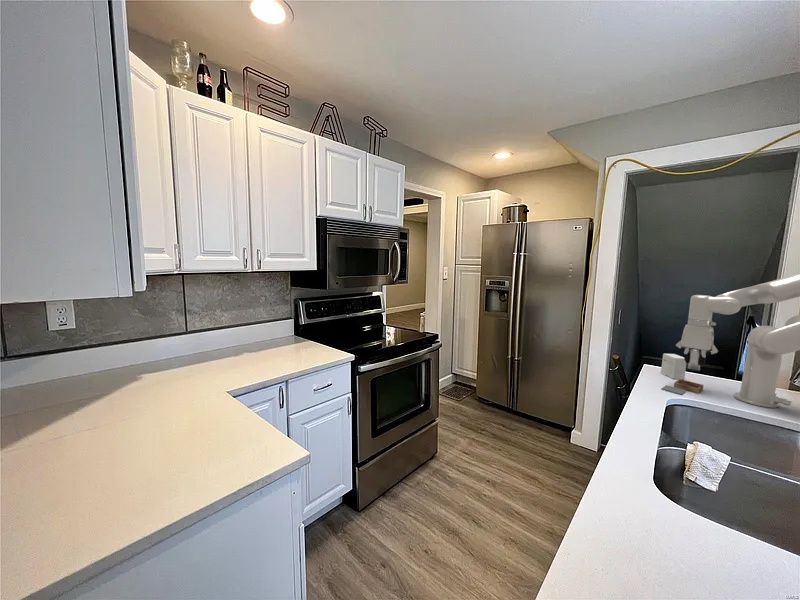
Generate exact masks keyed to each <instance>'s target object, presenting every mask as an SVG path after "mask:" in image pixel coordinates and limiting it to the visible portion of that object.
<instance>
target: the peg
mask: <svg viewBox="0 0 800 600" xmlns="http://www.w3.org/2000/svg"><path fill="white" fill-rule="evenodd" d="M701 355H702V352H701V350H699V349H693V348H690V351H689V361H688V363H687V369H688V370H693V371H701V366H700V365H699V363H700V357H701Z"/></svg>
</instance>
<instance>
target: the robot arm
mask: <svg viewBox="0 0 800 600" xmlns="http://www.w3.org/2000/svg"><path fill="white" fill-rule="evenodd" d="M799 297H800V273H795V274H792V275H789V276H784V277H782V278H778V279H774V280H771V281H767V282H764V283H759V284H756V285H752V286H748V287H743V288H739V289H736V290H732V291H727V292H725V293H720V294H718V295H716V296H711V295H706V294H694V295H692V296H691V297H690V300H689V309H688V317H687V324H685V326H684V327H683V332H682V335H681V340H679V341H678V342H677V343H676V344H675V347H677V348H679V350H681V352H683V353H684V361H686V363H687V364H688V361H689V352H690V348H693V349H699V350H701V352H702V355H701V357H700V363H699V365H700V367H702V366H703V365H705V363H706V361H707V360H706V359H707V358H706V357H709V356H711V355H715V354H717V353H718V352H719V350H718V348H717V347H716V346H715V343H714V339H715V338H714V337H715V331H714V327H713V326H716V325H717V322H714V321H713V320H712V318H713V313H715V314H719V315H720V314H722V315H733V314H736V313H738V312H740V310H741V308H742V307H747V306H752V305H759V304H776V303H782V302H785V301H788V300H792V299H796V298H799ZM798 351H800V314H797V315H794V316H792V317H790V318H788V319H787V320H786V321H785V323H784V326H781V327H778V328H777V327H775V326H771V325H760V326H756V327H754V328H753V329H752V330H751V331H750V332H749V333H748V336H747V351H746V359H745V363H744V369H743V373H742V378H741V379H742V380H741V384H740V385H741V386H740V388H739V389H740V390H739V392H738V391H737V392H734V394H733V396H734V398H735V399H737V400H739V401H741V402H744V403H747V404H751V405H754V406H759V407H764V408H770V409H771V408H772V409H775V408H776V409H777V408H778V407H779V405H780V404H781V405H784V406H788V407H791V406H792V401H791V400H788V399H786V398H782V397H779V396H777V393H776V389H777V385H778V380H779V375H780V371H781V366H782V358H783V355H786V354H790V353H791V354H792V353H794V352H798Z"/></svg>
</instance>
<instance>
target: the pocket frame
mask: <svg viewBox="0 0 800 600" xmlns="http://www.w3.org/2000/svg"><path fill="white" fill-rule="evenodd" d="M673 383H674V384H673V387H675V388H679V389H683V390H686V392H690V393H693V394H697V395H698V394H700V393H701V392H702V391H703V390H704V386H705V385H704V384H701V383H697V382H693V381H689V380H685V379H676V381H674V382H673Z"/></svg>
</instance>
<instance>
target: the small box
mask: <svg viewBox="0 0 800 600" xmlns="http://www.w3.org/2000/svg"><path fill="white" fill-rule="evenodd" d="M684 358H685V356H684V357H683V356H681V355H679V354H676V353H663V354H662V361H661V369H660V374H661V373H663V374H665V375H664V376H666V375H667V376H666V377H668V378H671V379H673V380H679V379H682V380H685V377H686V369H687V365H688V363H686V361H684ZM663 374H662V375H663Z"/></svg>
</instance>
